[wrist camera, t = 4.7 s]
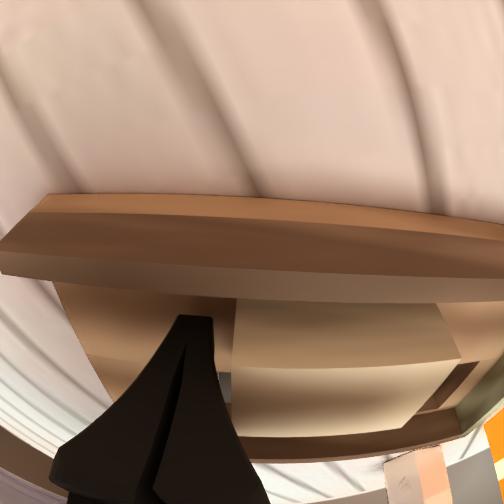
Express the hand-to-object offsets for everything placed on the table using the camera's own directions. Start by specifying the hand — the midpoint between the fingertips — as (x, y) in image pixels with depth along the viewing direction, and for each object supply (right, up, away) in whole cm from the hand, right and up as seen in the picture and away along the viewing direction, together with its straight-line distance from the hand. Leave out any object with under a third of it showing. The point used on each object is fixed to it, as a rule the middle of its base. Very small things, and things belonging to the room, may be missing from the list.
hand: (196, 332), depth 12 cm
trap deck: (+6, -2, +4) cm, 8 cm away
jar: (+23, -24, +19) cm, 38 cm away
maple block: (+5, 0, +1) cm, 5 cm away
